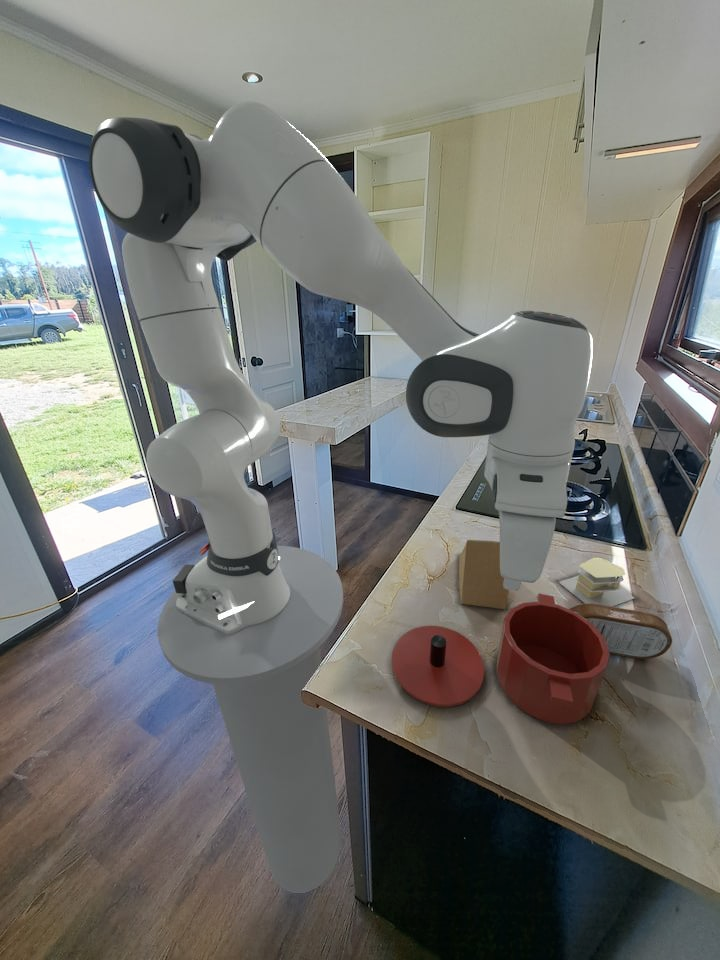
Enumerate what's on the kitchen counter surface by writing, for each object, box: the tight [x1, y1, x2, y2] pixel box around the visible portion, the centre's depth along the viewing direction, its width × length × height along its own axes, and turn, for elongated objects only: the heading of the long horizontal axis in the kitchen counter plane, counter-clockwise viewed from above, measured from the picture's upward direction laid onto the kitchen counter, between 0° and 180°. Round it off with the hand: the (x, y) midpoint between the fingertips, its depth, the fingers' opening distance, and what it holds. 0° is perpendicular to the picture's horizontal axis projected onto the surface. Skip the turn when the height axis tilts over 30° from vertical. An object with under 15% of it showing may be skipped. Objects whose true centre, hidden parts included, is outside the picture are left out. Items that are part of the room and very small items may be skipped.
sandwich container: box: [458, 539, 509, 610], centre depth 77 cm, size 9×15×15 cm, turn 168°
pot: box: [495, 593, 611, 725], centre depth 57 cm, size 14×19×10 cm
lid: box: [391, 625, 485, 708], centre depth 61 cm, size 15×15×6 cm
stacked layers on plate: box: [558, 557, 635, 607], centre depth 75 cm, size 10×9×6 cm
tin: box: [568, 603, 673, 660], centre depth 62 cm, size 15×3×8 cm, turn 73°
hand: (509, 562), depth 50 cm, fingers open, 8 cm apart
